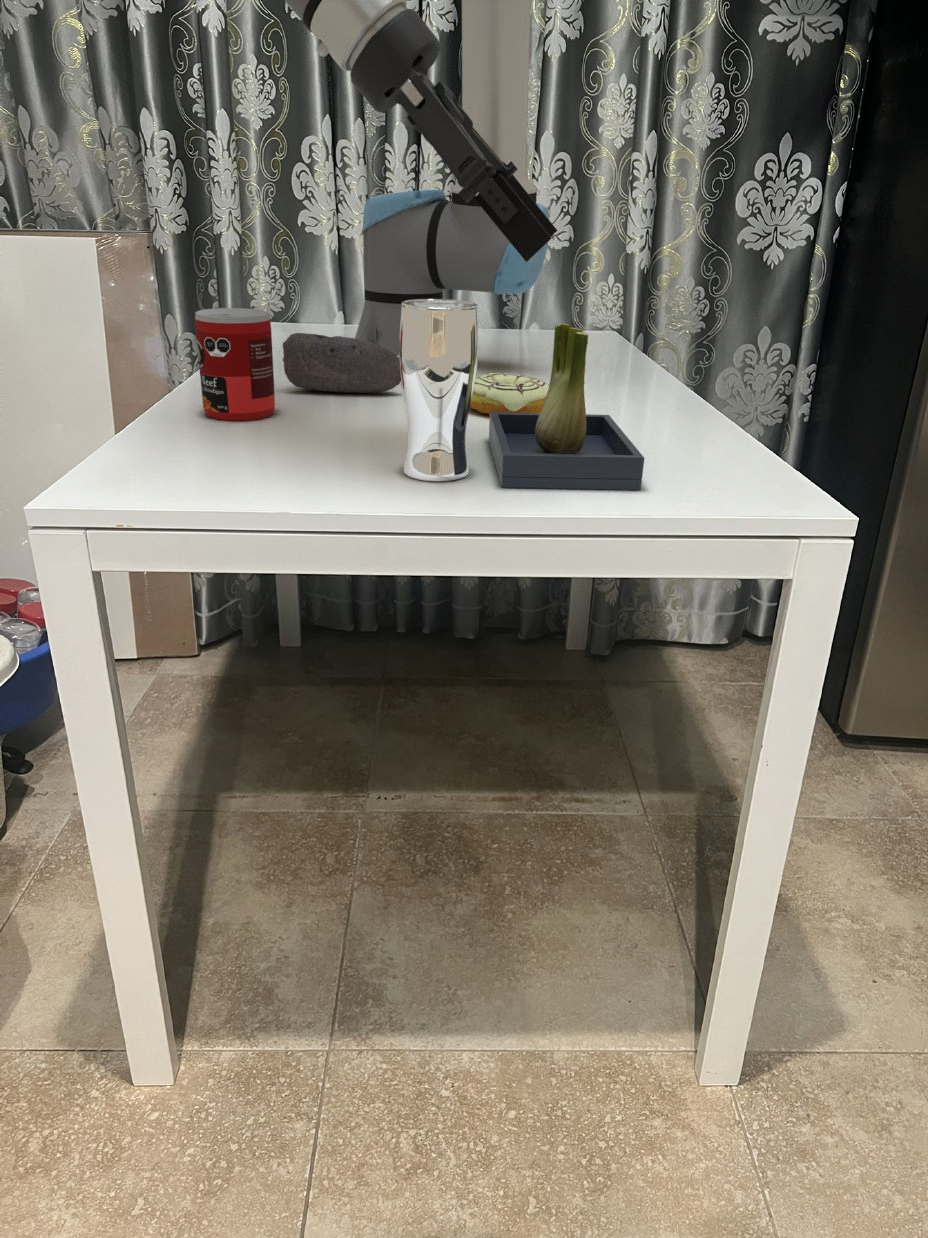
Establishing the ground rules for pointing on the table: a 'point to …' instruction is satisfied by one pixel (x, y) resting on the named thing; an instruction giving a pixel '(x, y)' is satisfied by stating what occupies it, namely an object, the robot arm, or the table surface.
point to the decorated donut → (508, 393)
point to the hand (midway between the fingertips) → (543, 245)
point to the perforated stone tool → (339, 364)
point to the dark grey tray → (564, 456)
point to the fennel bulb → (565, 395)
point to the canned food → (235, 363)
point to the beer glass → (437, 384)
